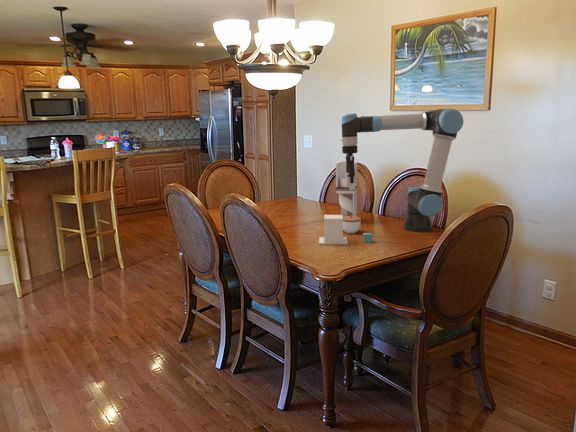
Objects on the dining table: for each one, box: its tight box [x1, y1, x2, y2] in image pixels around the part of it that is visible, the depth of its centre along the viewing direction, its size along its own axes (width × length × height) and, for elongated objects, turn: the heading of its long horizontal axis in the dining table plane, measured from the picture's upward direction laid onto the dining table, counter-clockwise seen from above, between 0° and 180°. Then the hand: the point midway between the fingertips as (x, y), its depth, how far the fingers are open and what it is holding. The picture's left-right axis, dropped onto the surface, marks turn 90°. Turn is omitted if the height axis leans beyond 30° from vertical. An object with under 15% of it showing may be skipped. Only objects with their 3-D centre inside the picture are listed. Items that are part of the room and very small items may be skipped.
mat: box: [318, 236, 349, 246], centre depth 235 cm, size 14×12×1 cm
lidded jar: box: [343, 215, 362, 234], centre depth 252 cm, size 11×11×9 cm
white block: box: [323, 214, 344, 243], centre depth 234 cm, size 9×9×12 cm
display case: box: [335, 160, 359, 217], centre depth 274 cm, size 11×11×35 cm
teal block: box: [362, 232, 373, 243], centre depth 234 cm, size 4×4×4 cm
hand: (350, 187), depth 238 cm, fingers open, 13 cm apart
